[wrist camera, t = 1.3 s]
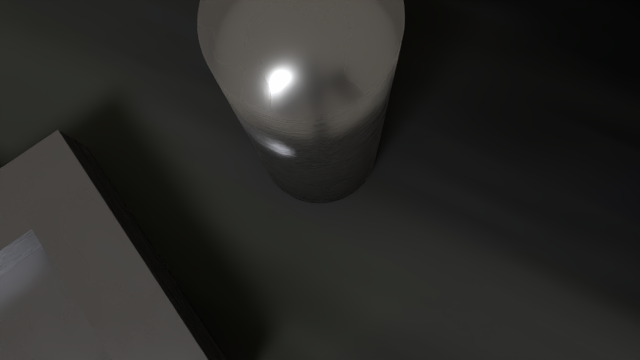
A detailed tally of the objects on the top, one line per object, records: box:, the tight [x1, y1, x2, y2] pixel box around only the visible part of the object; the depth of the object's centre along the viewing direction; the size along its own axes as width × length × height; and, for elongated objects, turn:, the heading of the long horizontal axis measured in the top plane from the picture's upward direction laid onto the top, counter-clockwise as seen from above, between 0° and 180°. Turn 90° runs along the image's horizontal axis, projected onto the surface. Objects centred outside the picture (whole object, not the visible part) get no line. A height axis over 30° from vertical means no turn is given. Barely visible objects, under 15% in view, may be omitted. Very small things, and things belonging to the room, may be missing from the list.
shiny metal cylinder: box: [197, 0, 405, 203], centre depth 18 cm, size 5×5×11 cm
